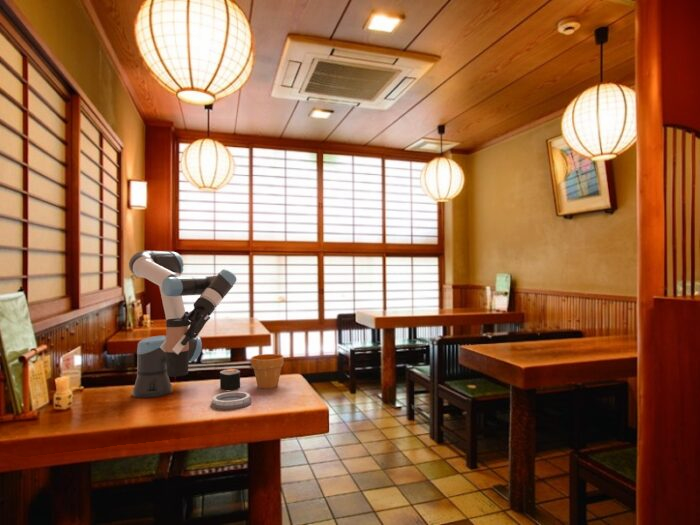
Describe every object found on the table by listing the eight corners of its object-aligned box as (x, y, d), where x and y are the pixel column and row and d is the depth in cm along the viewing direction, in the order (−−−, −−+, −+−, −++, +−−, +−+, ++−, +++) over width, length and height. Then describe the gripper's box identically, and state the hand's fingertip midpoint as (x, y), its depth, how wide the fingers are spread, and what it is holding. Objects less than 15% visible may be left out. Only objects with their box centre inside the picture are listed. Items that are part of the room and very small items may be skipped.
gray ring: (202, 407, 161) (202, 399, 161) (227, 396, 175) (227, 389, 175) (235, 411, 155) (235, 403, 156) (259, 400, 169) (259, 393, 170)
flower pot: (246, 385, 192) (245, 356, 192) (274, 380, 201) (274, 352, 201) (259, 392, 181) (259, 361, 181) (289, 386, 189) (289, 357, 190)
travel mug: (167, 377, 152) (166, 320, 152) (165, 373, 158) (165, 319, 159) (190, 375, 155) (189, 319, 155) (187, 370, 162) (187, 317, 162)
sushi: (231, 384, 194) (231, 366, 194) (243, 387, 189) (243, 369, 189) (216, 388, 188) (216, 370, 188) (228, 391, 183) (228, 372, 183)
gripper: (229, 310, 163) (191, 360, 150) (198, 307, 176) (160, 354, 162) (217, 296, 159) (177, 347, 146) (186, 295, 171) (146, 341, 158)
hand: (168, 350), depth 154 cm, fingers closed on travel mug, 7 cm apart
